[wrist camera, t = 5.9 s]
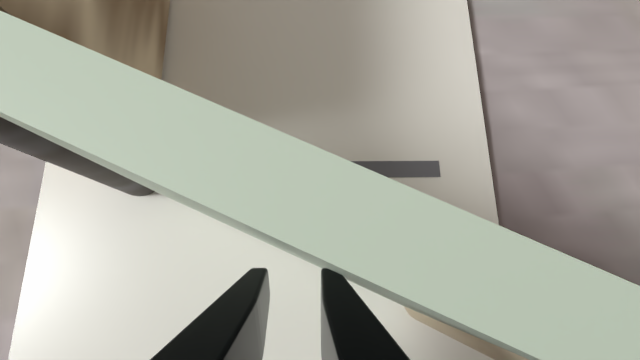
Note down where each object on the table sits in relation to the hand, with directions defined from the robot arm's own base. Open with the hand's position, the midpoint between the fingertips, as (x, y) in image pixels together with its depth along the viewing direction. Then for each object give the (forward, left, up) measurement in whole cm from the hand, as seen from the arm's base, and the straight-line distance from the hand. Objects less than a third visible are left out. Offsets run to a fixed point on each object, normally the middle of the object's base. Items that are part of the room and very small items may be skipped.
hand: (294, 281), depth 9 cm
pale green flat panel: (+1, -1, -6) cm, 6 cm away
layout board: (+7, -2, -7) cm, 10 cm away
